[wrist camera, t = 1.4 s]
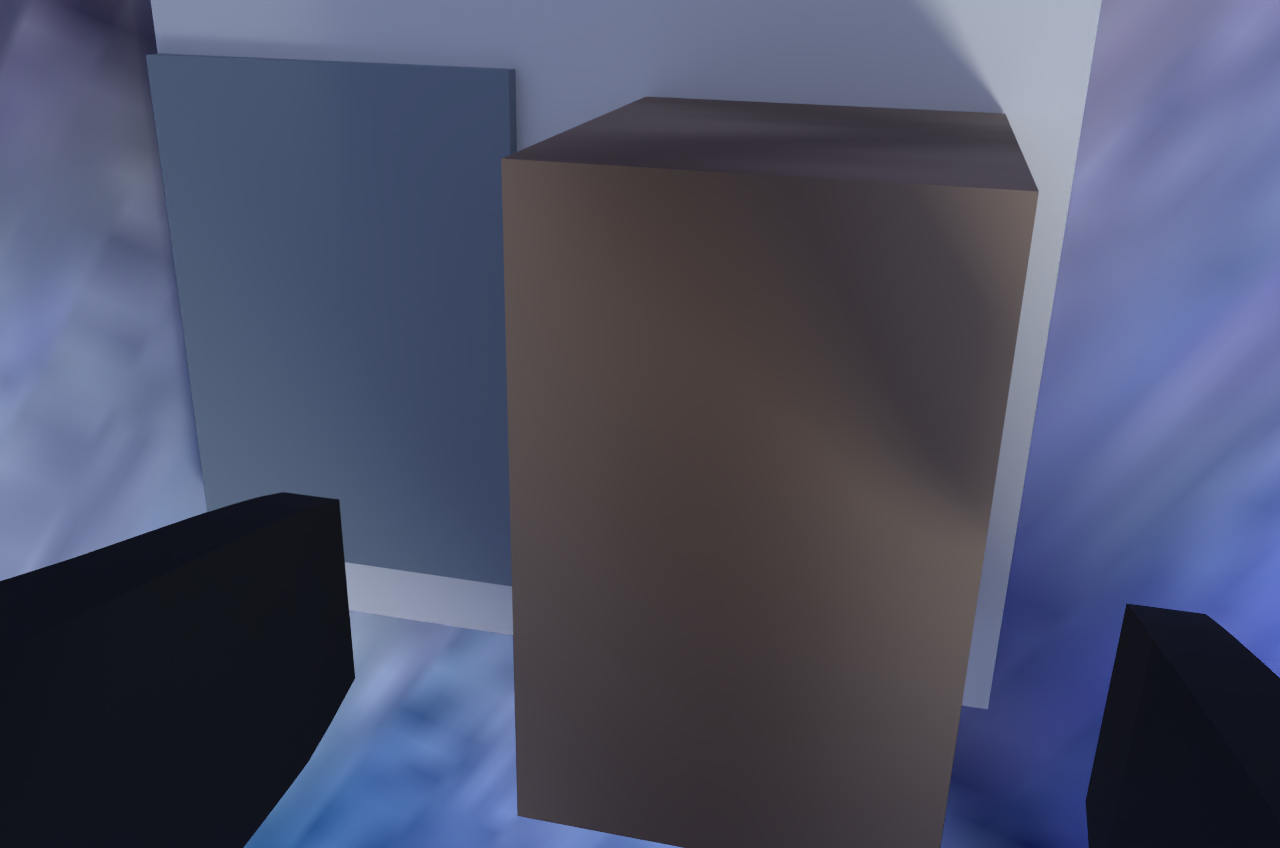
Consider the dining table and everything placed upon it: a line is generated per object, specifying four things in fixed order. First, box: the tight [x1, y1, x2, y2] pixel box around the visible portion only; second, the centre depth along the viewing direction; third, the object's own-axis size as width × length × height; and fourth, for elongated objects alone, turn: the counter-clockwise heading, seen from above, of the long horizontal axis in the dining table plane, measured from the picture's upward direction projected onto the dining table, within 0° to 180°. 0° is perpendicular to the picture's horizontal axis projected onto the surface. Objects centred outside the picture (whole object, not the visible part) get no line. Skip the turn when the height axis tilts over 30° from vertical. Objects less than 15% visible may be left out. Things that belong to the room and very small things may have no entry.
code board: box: [151, 0, 1102, 710], centre depth 19 cm, size 14×11×1 cm
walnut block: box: [501, 97, 1039, 848], centre depth 15 cm, size 5×8×6 cm, turn 179°
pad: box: [146, 53, 517, 586], centre depth 19 cm, size 6×9×1 cm
